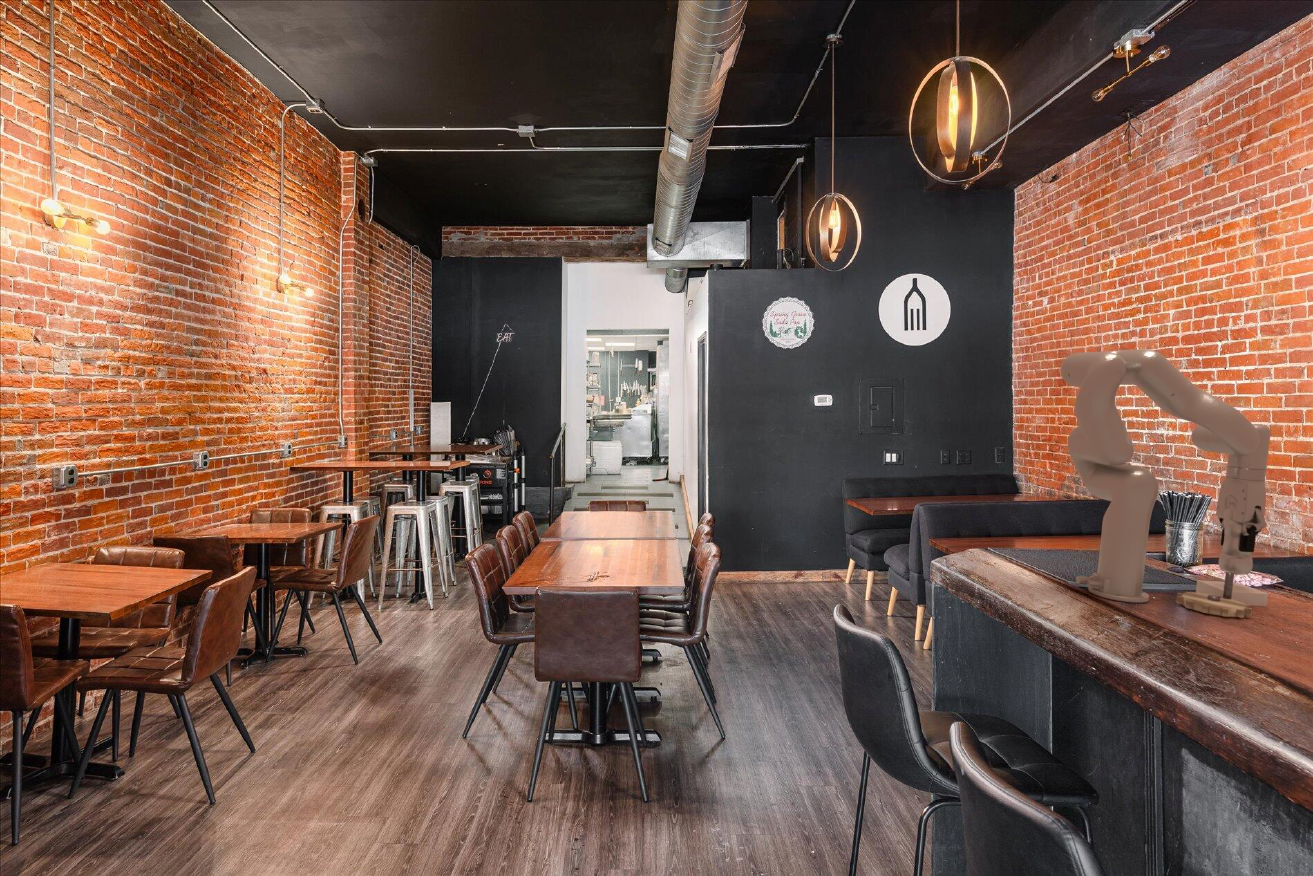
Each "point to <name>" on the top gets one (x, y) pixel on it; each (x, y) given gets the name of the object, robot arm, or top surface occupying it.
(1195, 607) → the base with upright peg
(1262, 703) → the top surface
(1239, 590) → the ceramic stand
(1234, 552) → the plastic bottle
